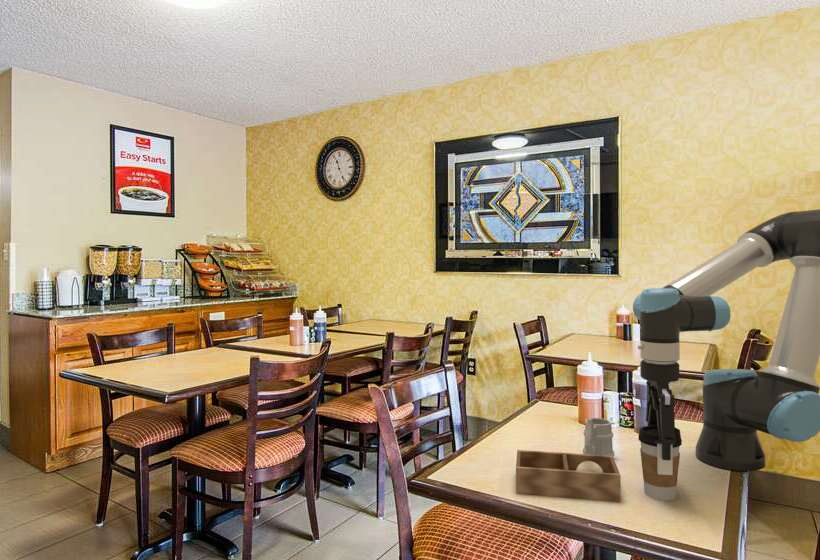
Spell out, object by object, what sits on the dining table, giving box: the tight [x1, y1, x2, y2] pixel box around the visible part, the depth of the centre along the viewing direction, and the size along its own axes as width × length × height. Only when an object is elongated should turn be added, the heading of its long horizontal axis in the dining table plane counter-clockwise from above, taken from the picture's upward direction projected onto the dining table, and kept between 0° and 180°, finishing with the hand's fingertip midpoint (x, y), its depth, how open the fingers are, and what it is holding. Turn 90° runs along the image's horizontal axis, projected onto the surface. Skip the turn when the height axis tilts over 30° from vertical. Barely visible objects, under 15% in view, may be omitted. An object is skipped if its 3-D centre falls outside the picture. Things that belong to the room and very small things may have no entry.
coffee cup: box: [637, 425, 683, 502], centre depth 112 cm, size 8×8×15 cm
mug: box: [582, 417, 615, 458], centre depth 133 cm, size 8×12×12 cm, turn 142°
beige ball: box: [576, 461, 603, 473], centre depth 115 cm, size 6×6×6 cm
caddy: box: [515, 449, 622, 503], centre depth 116 cm, size 21×11×6 cm, turn 77°
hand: (659, 465), depth 112 cm, fingers closed on coffee cup, 8 cm apart
